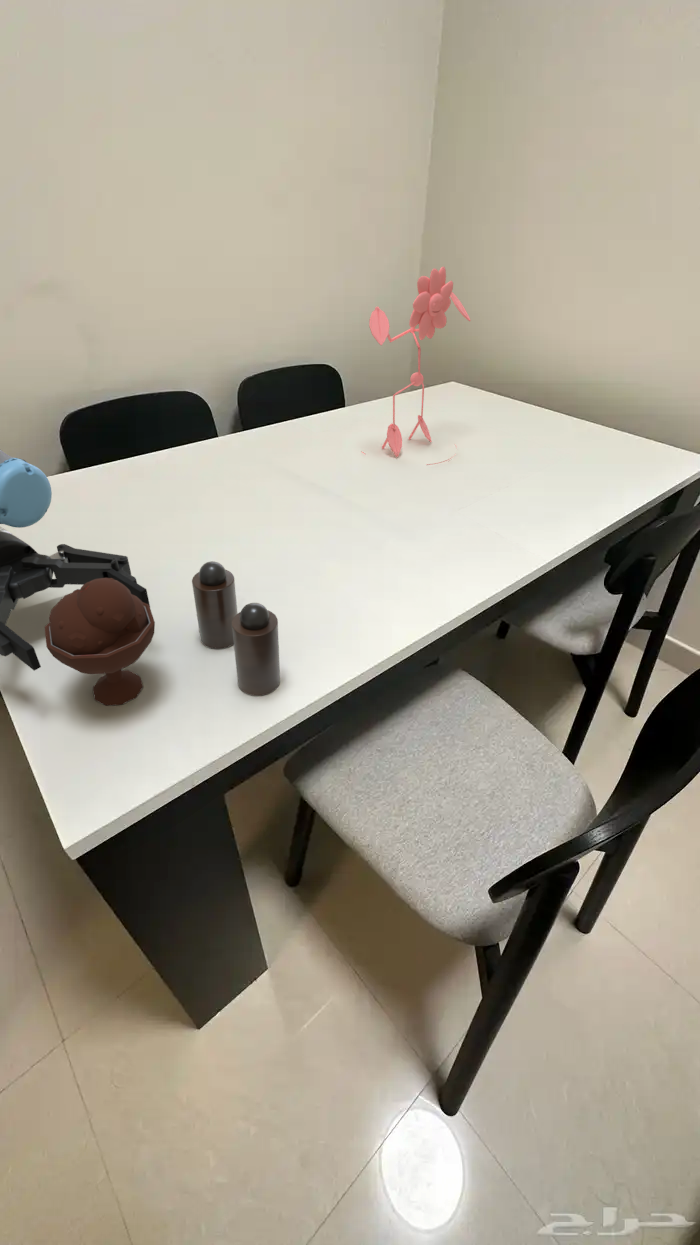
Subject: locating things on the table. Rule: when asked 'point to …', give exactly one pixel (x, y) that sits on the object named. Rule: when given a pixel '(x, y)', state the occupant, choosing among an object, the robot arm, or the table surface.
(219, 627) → the walnut mill middle
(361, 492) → the table surface
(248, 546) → the table surface
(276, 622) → the walnut mill near
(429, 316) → the figurine
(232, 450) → the table surface
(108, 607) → the ice cream bowl
